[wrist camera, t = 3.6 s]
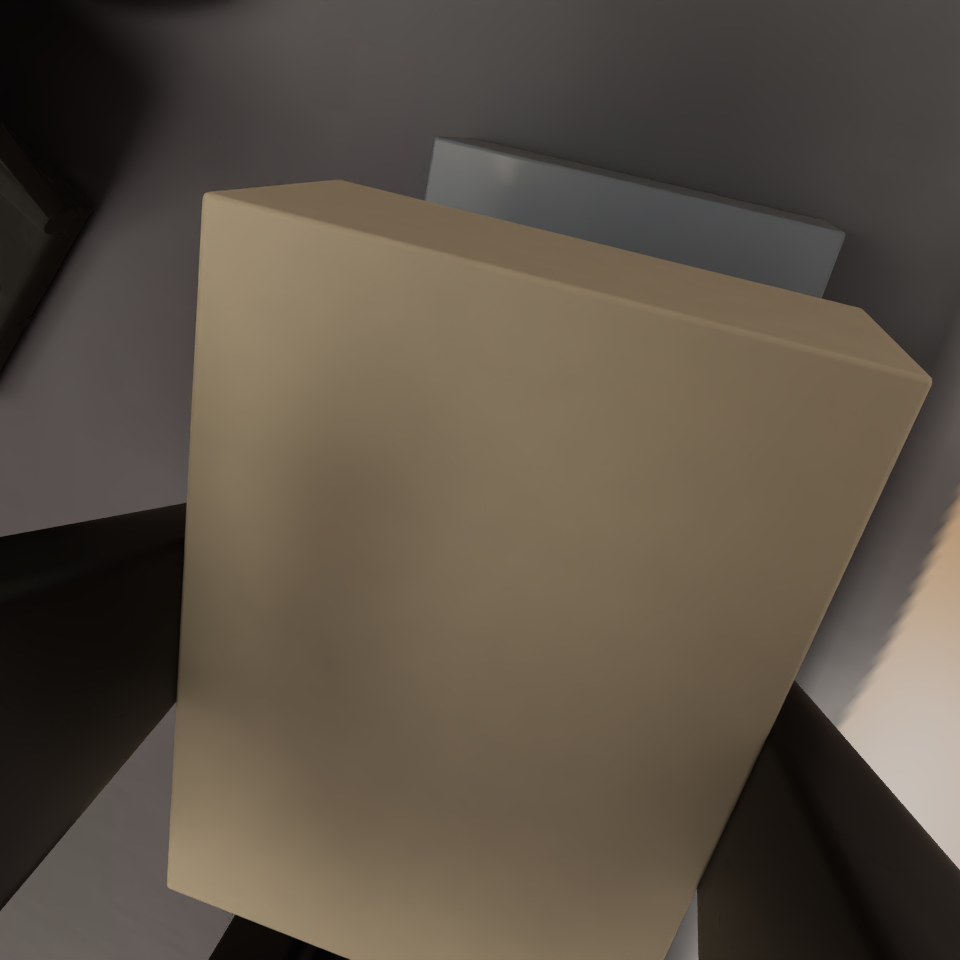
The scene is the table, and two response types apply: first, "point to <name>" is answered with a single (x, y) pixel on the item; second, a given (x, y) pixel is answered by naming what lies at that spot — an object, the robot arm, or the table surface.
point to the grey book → (635, 214)
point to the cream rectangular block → (496, 569)
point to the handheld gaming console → (31, 232)
